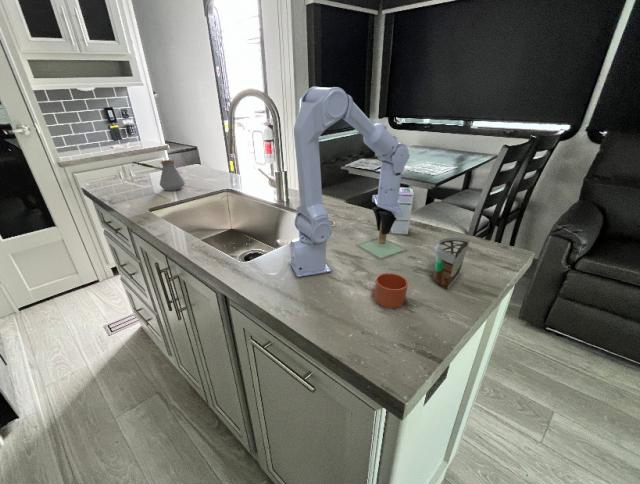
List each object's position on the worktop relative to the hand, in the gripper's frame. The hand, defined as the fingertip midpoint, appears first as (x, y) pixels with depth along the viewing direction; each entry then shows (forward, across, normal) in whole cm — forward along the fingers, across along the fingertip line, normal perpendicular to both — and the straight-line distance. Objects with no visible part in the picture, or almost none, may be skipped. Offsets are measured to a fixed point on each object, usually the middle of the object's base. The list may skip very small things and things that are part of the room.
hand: (383, 232), depth 97 cm
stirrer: (+4, 0, 0) cm, 4 cm away
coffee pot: (+6, +85, +70) cm, 110 cm away
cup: (+6, -24, +11) cm, 27 cm away
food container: (+6, -20, -7) cm, 22 cm away
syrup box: (+6, +10, -12) cm, 17 cm away
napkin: (+6, 0, 0) cm, 6 cm away
